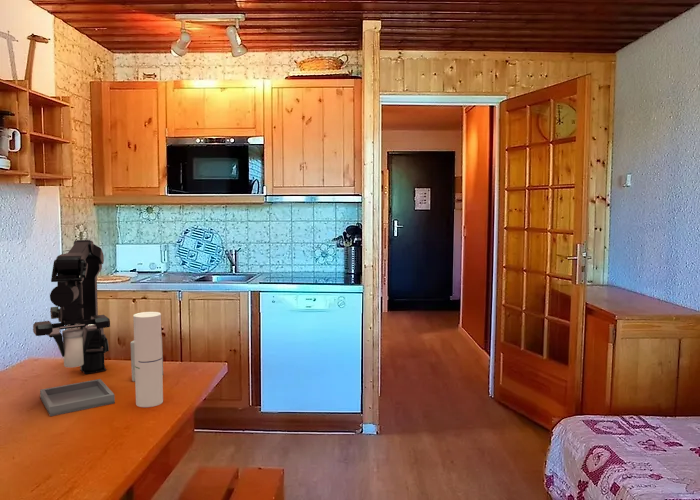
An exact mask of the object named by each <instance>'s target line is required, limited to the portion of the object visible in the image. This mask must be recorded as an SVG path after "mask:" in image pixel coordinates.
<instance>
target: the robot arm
mask: <svg viewBox="0 0 700 500" xmlns="http://www.w3.org/2000/svg"><path fill="white" fill-rule="evenodd" d="M104 262H105V255H104V252H103V250H102V248H101V247H100V246H98V245H97V244H95V243H94V241H93V240H91V239H77V240H74V241H73V246H72V247H71V248H70V249H69V251H68V252H67V253H60V254H59V255H57V256H56V258H55V259H54V261H53V266H52V272H51V278H50V281H51V283H57V285H56V286H55V287H54V288H53V289H52V290H51V291H50V294H49V299H50V301H51V303H52V305H54V306H51V307H50V308H49V309H50V319H51V320H52V319H55V320H56V319H58V322H54V323H52V322H51V321H50V320H44V321H36V322H34V323H33V325H32V332H33V334H34V335H35V336H36V337H41V336H48V337H49V338H53V339H54V341H55V343H56V345H57V347H58V350H59V353H60V354H61V357H62V358H64V346H63V337H62V332H60V331H61V330H67V329H75V328H79V329H83V356H84V364H83V365H82V366H79V369H80V371H82V372H83V373H84V374H85V375H88V374H94V373H100V372H105V371H107V368H105V353H106V352H109V351H110V349H109V348H110V346H109V340H108V338H107V336H106V333H105V332H104V329H106V328H110V327H111V321H110V318H109V317H108V316H106V315H105V314H100V315H99V309H98V308H99V306H98V276H99V274H100V273H101V271H102V269H103V265H104Z"/></svg>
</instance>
